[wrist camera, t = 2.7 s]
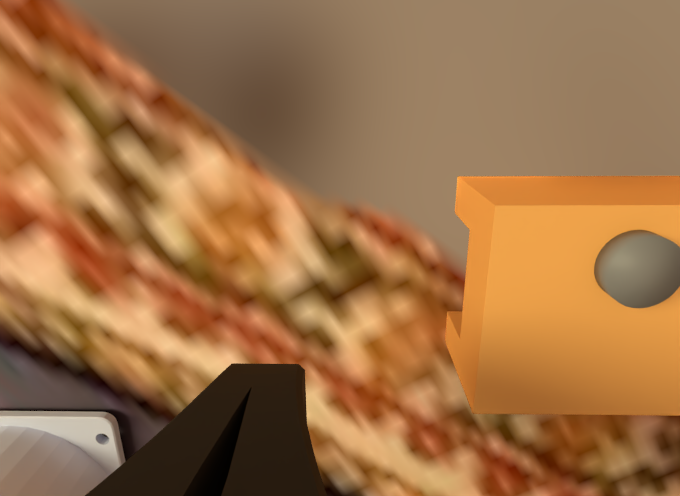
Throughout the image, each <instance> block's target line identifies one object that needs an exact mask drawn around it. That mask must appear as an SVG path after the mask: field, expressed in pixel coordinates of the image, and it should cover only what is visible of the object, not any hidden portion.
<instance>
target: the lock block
mask: <svg viewBox="0 0 680 496" xmlns="http://www.w3.org/2000/svg"><path fill="white" fill-rule="evenodd" d="M455 213H456V215H457V216H458V217H459V218H460V219H461V220H462V221H463V223H464V224H465V225H466V226H467V227H468V228H469V229H470V234H469V244H468V256H467V267H466V278H465V289H464V300H463V311H447V323H446V336H445V342H446V345H447V347H448V350H449V353H450V355H451V358H452V360H453V363H454V366H455V368H456V371H457V374H458V376H459V379H460V381H461V384H462V387H463V389H464V392H465V394H466V397H467V400H468V402H469V405H470V408H471V410H472V413H473V414H562V415H677V416H680V176H458V177H457V189H456V203H455Z"/></svg>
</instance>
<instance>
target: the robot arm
mask: <svg viewBox="0 0 680 496" xmlns="http://www.w3.org/2000/svg"><path fill="white" fill-rule="evenodd" d="M102 434H105V435H107V436H108V437H105V436H104V435H102ZM0 496H327V495H326V492H325V488H324V485H323V482H322V479H321V476H320V473H319V470H318V466H317V463H316V459H315V456H314V452H313V448H312V444H311V439H310V435H309V431H308V427H307V417H306V391H305V370H304V369H303V368H302V367H301V366H300V365H299V364H231V365H230V366H229V367H228V368H227V369H226V370H225V371H223V372H222V373H221V374H220V375H219V376H218V377H217V378H216V379H215V380H214V381H213V382H212V383H211V384H210V385H209V386H208V387H207V388H206V389H205V390H204V391H202V392H201V393H200V394H199V395H198V396H197V397H196V398H195V399H194V400H193V401H192V402H191V403H190V404H189V405H188V406H187V407H186V408H185V409H184V410H183V411H182V412H181V413H180V414H178V415H177V416H176V417H175V418H174V419H173V420H172V421H171V422H170V423H169V424H168V425H166V426H165V427H164V428H163V429H162V430H161V431H160V432H159V433H158V434H157V435H156V436H155V437H153V438H152V439H151V440H150V441H149V442H148V443H147V444H146V445H145V446H143V447H142V448H141V449H140V450H139V451H137V452H136V453H135V454H134V455H133V456H132V457H130V458H129V459H128V460H127V461H126V462H125V457H124V452H123V447H122V442H121V437H120V432H119V427H118V422H117V420H116V418H115V417H114V416H113V415H112V414H110V413H107V412H85V411H0Z"/></svg>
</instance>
